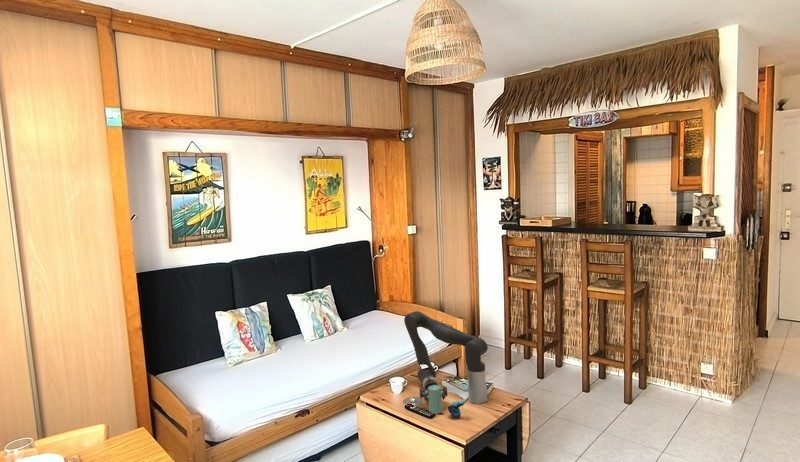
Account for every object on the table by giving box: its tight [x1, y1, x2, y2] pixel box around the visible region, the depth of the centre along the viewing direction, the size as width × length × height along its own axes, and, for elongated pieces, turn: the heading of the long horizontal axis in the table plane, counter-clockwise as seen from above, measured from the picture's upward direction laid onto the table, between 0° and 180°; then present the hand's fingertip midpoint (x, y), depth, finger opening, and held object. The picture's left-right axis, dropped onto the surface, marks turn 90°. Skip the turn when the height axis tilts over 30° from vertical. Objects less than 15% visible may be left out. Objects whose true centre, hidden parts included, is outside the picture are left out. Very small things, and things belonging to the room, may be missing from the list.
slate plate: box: [402, 396, 425, 407], centre depth 261 cm, size 11×11×1 cm
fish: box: [447, 398, 469, 419], centre depth 241 cm, size 4×10×10 cm, turn 78°
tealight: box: [410, 396, 417, 403], centre depth 260 cm, size 4×4×2 cm
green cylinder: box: [428, 384, 443, 415], centre depth 248 cm, size 6×6×13 cm
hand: (435, 398), depth 247 cm, fingers open, 8 cm apart
